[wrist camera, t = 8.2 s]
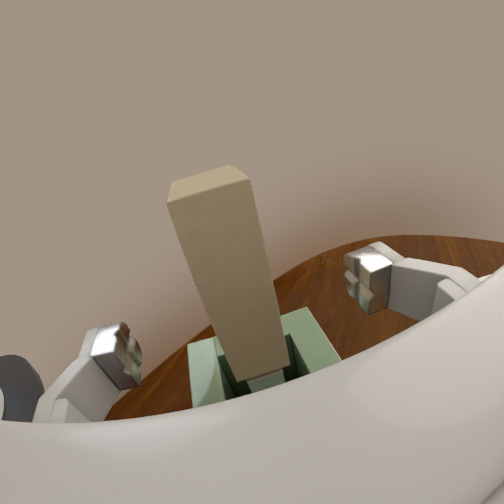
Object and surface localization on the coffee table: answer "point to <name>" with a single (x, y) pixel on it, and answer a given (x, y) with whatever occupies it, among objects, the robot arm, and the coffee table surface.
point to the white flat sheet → (483, 278)
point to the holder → (226, 386)
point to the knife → (231, 271)
